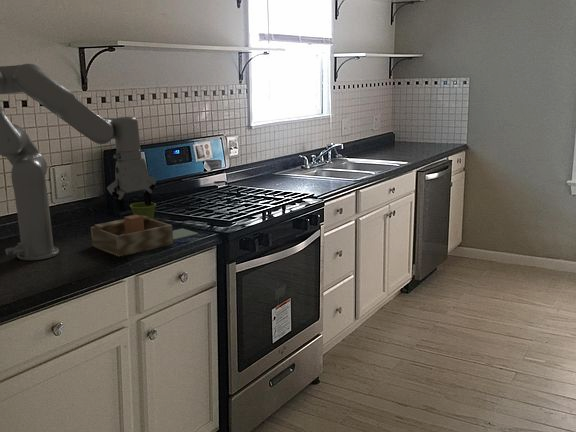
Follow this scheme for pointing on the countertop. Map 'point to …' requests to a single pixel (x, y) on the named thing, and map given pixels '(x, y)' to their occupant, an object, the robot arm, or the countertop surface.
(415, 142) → the countertop surface
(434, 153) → the countertop surface
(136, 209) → the plant pot
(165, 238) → the crate
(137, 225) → the block
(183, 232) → the mat
